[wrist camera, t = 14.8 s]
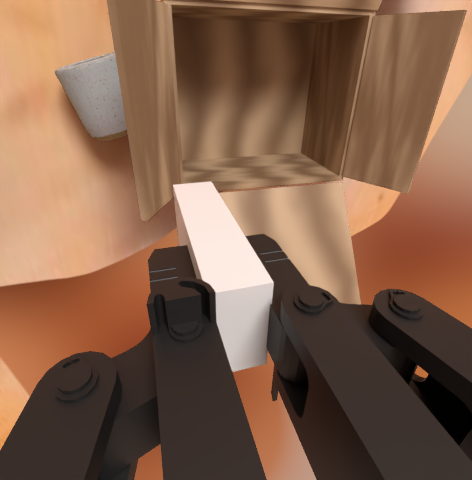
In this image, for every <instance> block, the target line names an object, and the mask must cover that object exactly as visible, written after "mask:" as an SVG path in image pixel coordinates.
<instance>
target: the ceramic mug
mask: <svg viewBox="0 0 472 480" xmlns="http://www.w3.org/2000/svg"><path fill="white" fill-rule="evenodd" d="M55 74H56V76H57V78H58V80H59V81H60V83H61V85H62V87H63V89H64V90H65V92H66V94H67V96H68V98H69V100H70V102H71V104H72V105H73V107H74V109H75V111H76V112H77V114H78V116H79V118H80V120H81V122H82V124H83V126H84V127H85V129H86V130H87V132H88V133H89V134H90V136H91V137H92V138H93V139H96V140H98V141H109V140H113V139H117V138H121V137H124V136H126V135H128V133H127V127H126V121H125V114H124V108H123V101H122V95H121V88H120V82H119V75H118V69H117V62H116V56H115V52H113V53H109V54H104V55H102V56H97V57H93V58H90V59H87V60H83V61H79V62H76V63H73V64H70V65H66V66H64V67H61V68H58V69H57V70H55Z"/></svg>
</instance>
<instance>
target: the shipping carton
mask: <svg viewBox="0 0 472 480" xmlns="http://www.w3.org/2000/svg"><path fill="white" fill-rule="evenodd" d="M381 2H382V0H161V1H157V0H107V4H108V11H109V17H110V24H111V30H112V37H113V43H114V49H115V56H116V62H117V69H118V75H119V82H120V88H121V95H122V101H123V108H124V114H125V121H126V127H127V133H128V140H129V146H130V153H131V159H132V166H133V172H134V179H135V185H136V192H137V198H138V205H139V211H140V217H141V220H142V221H148V220H149V219H150V218H151V217H152V216H153V215H154V214H155V213H157V212H158V211H159V210H160V209H161V208H162V207H163V206H164V205H165V204H167V203H168V202H169V201H170V200H171V199H172V198H173V197H174V192H173V185H176V184H187V183H199V182H210V181H211V182H212V183H213V185H214V187H215V188H216V190H217V191H227V190H238V189H249V188H261V187H272V186H283V185H294V184H306V183H317V182H329V181H340V180H343V177H347V178H350V179H354V180H358V181H361V182H365V183H369V184H373V185H376V186H380V187H384V188H388V189H391V190H395V191H399V192H403V193H406V194H407V193H409V191H410V188H411V185H412V182H413V179H414V175H415V172H416V169H417V166H418V163H419V160H420V157H421V153H422V150H423V147H424V144H425V141H426V138H427V135H428V131H429V128H430V125H431V122H432V119H433V116H434V112H435V109H436V106H437V103H438V100H439V97H440V94H441V90H442V87H443V84H444V81H445V78H446V75H447V72H448V68H449V65H450V62H451V59H452V56H453V53H454V50H455V46H456V43H457V40H458V37H459V34H460V31H461V27H462V24H463V21H464V18H465V15H466V12H467V10H456V11H440V12H424V13H408V14H392V15H375V14H376V10H378V9H379V7H380V4H381Z"/></svg>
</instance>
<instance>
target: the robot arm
mask: <svg viewBox="0 0 472 480" xmlns="http://www.w3.org/2000/svg"><path fill="white" fill-rule="evenodd" d="M173 192H174V202H175V212H176V222H177V232H178V243H179V246H177V247H170V248H163V249H155V250H154V251H153V253H152V254H151V256H150V258H149V259H148V263H149V275H150V289H151V294H150V295H149V297H148V301H147V308H148V314H149V319H150V325H151V329H150V331H149V333H148V334H147V336H146V337H145V338H144V339H143V340H142V341H141V342H140V343H139V344H137V345H136V346H135V347H133V348H131V349H129V350H128V351H126V352H124V353H122V354H119V355H117V356H115V357H113V358H110V357H108V356H107V355H105V354H104V353H99V352H92V351H89V352H83V353H78V354H74V355H72V356H70V357H68V358H65V359H63V360H61V361H60V362H58V363H57V364H56V365H54V366H53V367H52V368H51V369H49V370H48V371H47V372H46V373H45V375H44V376H43V377H42V379H41V380H40V381H39V382H38V384H37V385H36V387H35V389H34V391H33V393H32V394H31V396H30V398H29V400H28V402H27V403H26V405H25V407H24V409H23V411H22V412H21V414H20V416H19V418H18V420H17V421H16V423H15V425H14V427H13V429H12V430H11V432H10V434H9V436H8V438H7V439H6V441H5V443H4V445H3V447H2V448H1V450H0V480H134V477H135V472H136V467H137V462H138V458H140V457H141V456H143V455H144V454H145V453H147V452H149V451H150V450H152V449H153V448H155V447H156V446H158V445H159V444H161V452H162V467H163V480H267V479H266V477H265V473H264V470H263V467H262V464H261V461H260V458H259V454H258V451H257V448H256V445H255V442H254V439H253V435H252V432H251V429H250V426H249V423H248V420H247V417H246V414H245V410H244V407H243V404H242V401H241V398H240V395H239V392H238V388H237V385H236V382H235V379H234V376H233V373H232V372H234V371H238V370H243V369H247V368H251V367H255V366H259V365H263V364H266V363H267V352H268V351H269V353H270V355H271V358H272V360H273V362H274V372H273V381H272V390H271V394H272V399H273V401H275V400H277V394H278V391H279V393H280V395H281V398H282V400H283V402H284V405H285V407H286V409H287V412H288V414H289V416H290V419H291V421H292V423H293V425H294V428H295V430H296V433H297V435H298V437H299V440H300V442H301V444H302V446H303V449H304V451H305V454H306V456H307V458H308V460H309V463H310V465H311V467H312V470H313V472H314V474H315V477H316V479H317V480H472V329H471V328H470V327H468V326H467V325H465V324H464V323H462V322H460V321H459V320H457V319H456V318H454V317H452V316H451V315H449V314H448V313H446V312H444V311H443V310H441V309H440V308H438V307H436V306H435V305H433V304H432V303H430V302H428V301H427V300H425V299H424V298H422V297H420V296H418V295H416V294H413V293H411V292H407V291H403V290H398V289H387V290H383V291H380V292H379V293H378V294H376V295H375V298H374V301H373V304H372V305H361V304H346V303H340V302H339V301H338V300H337V298H335V297H334V296H333V295H332V294H331V293H330V292H328V291H326V290H324V289H322V288H320V287H316V286H311V285H309V284H308V283H307V281H306V280H305V279H304V277H303V276H302V275H301V273H300V272H299V271H298V269H297V268H296V267H295V266H294V264H293V263H292V262H291V260H290V259H288V256H287V255H286V254H285V252H284V251H282V249H281V247H280V246H279V245H278V243H277V242H276V241H275V240H274V239H272V238H270V237H268V236H267V235H265V234H257V235H250V236H245V235H244V233H243V232H242V230H241V229H240V227H239V225H238V224H237V222H236V221H235V219H234V217H233V216H232V214H231V212H230V211H229V209H228V208H227V206H226V204H225V203H224V201H223V199H222V198H221V196H220V195H219V193H218V191H217V190H216V188H215V187H214V185H213V183H212V182H211V181H210V182H199V183H187V184H176V185H173ZM418 365H419V366H420V367H421V368H422V369H423V370H425V371H426V372H427V373H428V377H427V378H423V377H420V376H418V375H416V374H415V370H416V368H417V366H418Z"/></svg>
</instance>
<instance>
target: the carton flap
mask: <svg viewBox="0 0 472 480" xmlns="http://www.w3.org/2000/svg"><path fill="white" fill-rule="evenodd" d="M219 195H220V196H221V198H222V199H223V201H224V203H225V204H226V206H227V208H228V209H229V211H230V212H231V214H232V216H233V217H234V219H235V221H236V222H237V224H238V225H239V227H240V229H241V230H242V232H243V233H244V235H245V236H250V235H257V234H265V235H267V236H268V237H270V238H272V239H274V240H275V241H276V242H277V243H278V245H279V246H280V247H281V249H282V251H284V252H285V254H286V255H287V256H288V259H290V260H291V262H292V263H293V264H294V266H295V267H296V268H297V269H298V271H299V272H300V273H301V275H302V276H303V277H304V279H305V280H306V281H307V283H308V284H309V285H311V286H316V287H320V288H322V289H324V290H326V291H328V292H330V293H331V294H332V295H333V296H334V297H335V298H337V300H338V301H339V302H340V303H346V304H361V302H360V295H359V288H358V282H357V275H356V268H355V262H354V255H353V249H352V242H351V235H350V228H349V221H348V215H347V208H346V201H345V195H344V188H343V182H335V183H324V184H312V185H302V186H290V187H280V188H269V189H258V190H257V189H256V190H245V191H235V192H223V193H219Z"/></svg>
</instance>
